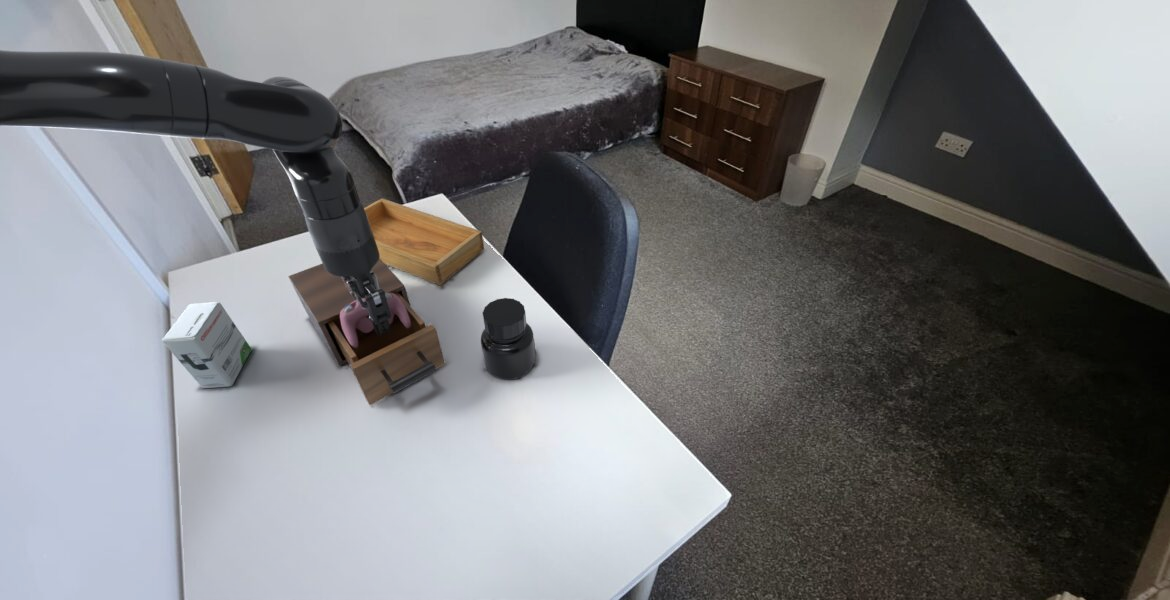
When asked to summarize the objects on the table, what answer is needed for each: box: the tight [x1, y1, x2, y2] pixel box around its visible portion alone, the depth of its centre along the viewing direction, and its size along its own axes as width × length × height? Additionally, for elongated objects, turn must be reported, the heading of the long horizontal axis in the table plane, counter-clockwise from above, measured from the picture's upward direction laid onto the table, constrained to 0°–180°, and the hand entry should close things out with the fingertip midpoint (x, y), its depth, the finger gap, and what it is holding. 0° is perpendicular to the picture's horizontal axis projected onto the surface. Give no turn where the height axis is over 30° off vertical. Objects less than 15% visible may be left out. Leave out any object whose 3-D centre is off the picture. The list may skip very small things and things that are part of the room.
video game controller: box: [340, 293, 411, 349], centre depth 76 cm, size 10×5×7 cm, turn 124°
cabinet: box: [288, 258, 412, 367], centre depth 86 cm, size 16×15×11 cm
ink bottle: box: [480, 297, 536, 380], centre depth 79 cm, size 10×9×12 cm
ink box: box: [161, 301, 252, 389], centre depth 77 cm, size 9×5×12 cm, turn 6°
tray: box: [363, 198, 485, 286], centre depth 106 cm, size 31×15×6 cm, turn 62°
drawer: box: [327, 292, 446, 406], centre depth 78 cm, size 19×13×9 cm
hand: (375, 322), depth 76 cm, fingers closed on video game controller, 6 cm apart
